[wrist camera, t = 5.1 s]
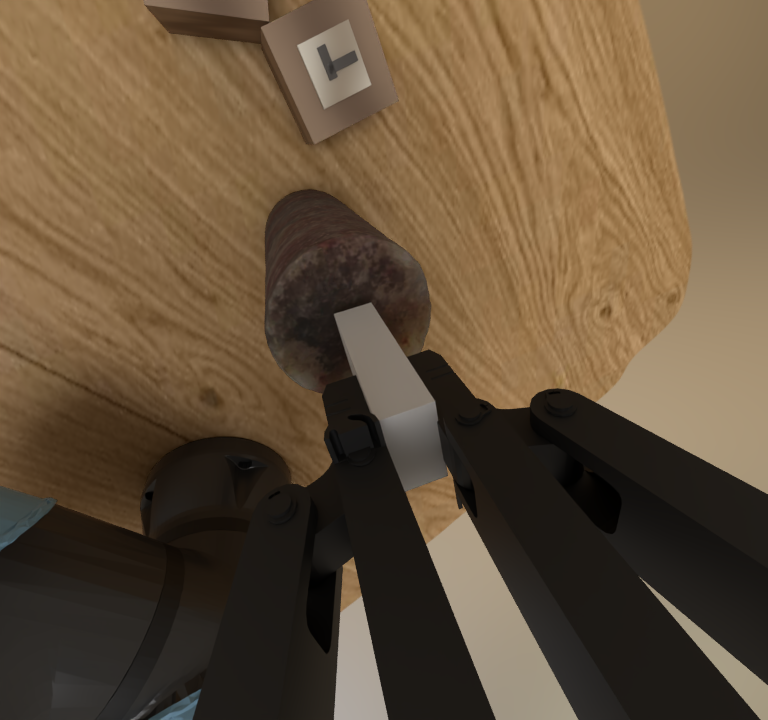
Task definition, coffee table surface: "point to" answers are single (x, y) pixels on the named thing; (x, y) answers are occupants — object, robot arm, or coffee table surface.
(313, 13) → the block two
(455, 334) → the coffee table surface
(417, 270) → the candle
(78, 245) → the coffee table surface
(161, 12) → the block seven
